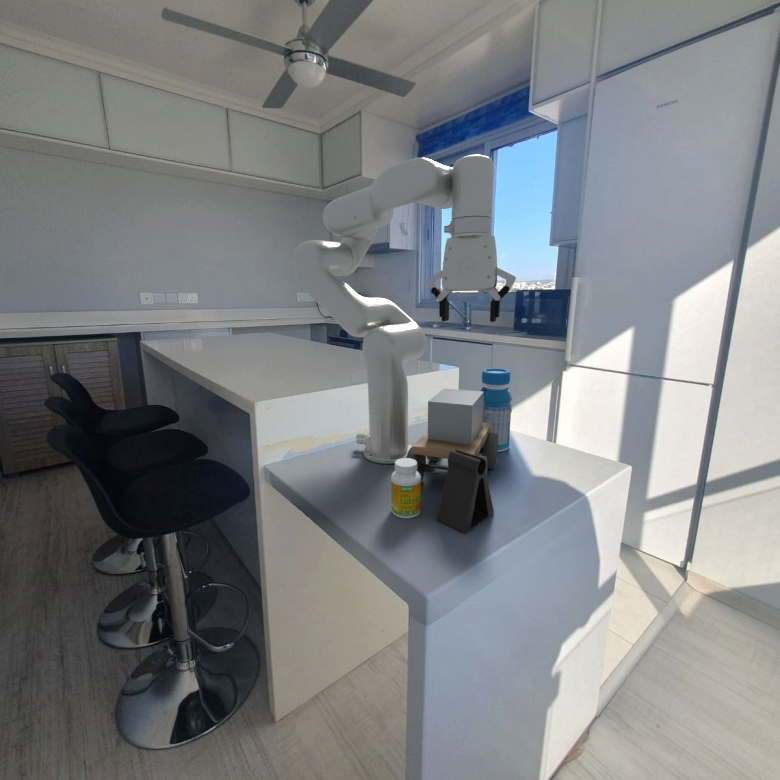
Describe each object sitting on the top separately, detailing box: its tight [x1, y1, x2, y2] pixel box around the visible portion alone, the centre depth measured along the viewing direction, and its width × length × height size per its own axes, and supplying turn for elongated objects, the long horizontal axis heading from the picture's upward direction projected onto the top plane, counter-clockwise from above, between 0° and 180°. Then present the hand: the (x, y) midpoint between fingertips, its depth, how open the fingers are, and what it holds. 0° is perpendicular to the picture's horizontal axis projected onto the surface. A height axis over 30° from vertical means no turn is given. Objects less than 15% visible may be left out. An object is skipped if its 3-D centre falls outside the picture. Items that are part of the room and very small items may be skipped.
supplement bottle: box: [390, 458, 422, 519], centre depth 74 cm, size 5×5×10 cm
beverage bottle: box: [480, 368, 513, 453], centre depth 104 cm, size 8×8×20 cm
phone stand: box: [435, 449, 495, 535], centre depth 72 cm, size 9×6×12 cm, turn 134°
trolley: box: [406, 388, 499, 483], centre depth 88 cm, size 22×15×18 cm
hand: (468, 321), depth 82 cm, fingers open, 9 cm apart
